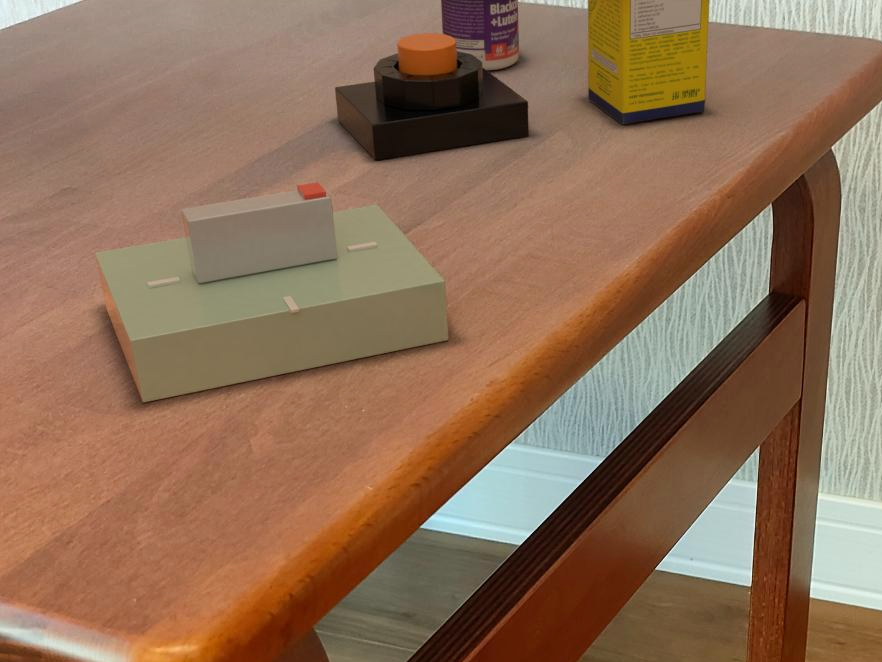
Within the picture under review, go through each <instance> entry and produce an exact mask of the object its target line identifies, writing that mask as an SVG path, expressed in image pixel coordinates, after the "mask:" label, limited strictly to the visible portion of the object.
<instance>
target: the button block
mask: <svg viewBox="0 0 882 662" xmlns="http://www.w3.org/2000/svg"><path fill="white" fill-rule="evenodd" d="M373 79H374V80H373V81H369V82H362V83H355V84H348V85H340V86H335V87H334V92H335V102H336V112H337V121H338V122H339V123H340V124H341V125H342V126H343V128H345V129H346V130H347V132H348V133H349V134H350V135H351V136H352V137H353V138H354V139H355V141H357V142H358V143H359V144H360V145H361V146H362V148H363V149H364V150H365V151H366V152H367V153H368V154H369V155H370V156H371V157H372V158H373V159H374V160H375V161H380V160H386V159H391V158H393V159H394V158H399V157H404V156H411V155H417V154H418V155H419V154H424V153H430V152H436V151H443V150H450V149H454V148H455V149H456V148H461V147H467V146H473V145H480V144H485V143H492V142H498V141H504V140H511V139H517V138H523V137H528V136H529V131H530V130H529V127H530V126H529V101H528V100H527V99H526V98H524V97H523V96H522V95H520V94H519V93H517V92H516V91H515V90H513V89H512V88H511V87H510V86H508V85H507V84H505V82H503V81H501V80H500V79H499V78H498V77H496V76H495V75H493V74H492V73H491V72H489V70H485V69H484V68H483V67H482V62H481V61H480V60H479V59H477V58H476V57H475V56H473V55H472V54H468V53H463V52H458V51H457V69H456V70H454V71H451V72H449V73H443V74H436V75H411V74H407V73H402V72H400V71H399V63H398V52H397V53H394V54H392V55H389V56H386V57H384V58H380V59H379V60H378V61H377V63H376V64H375V65H374V66H373Z"/></svg>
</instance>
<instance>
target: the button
mask: <svg viewBox="0 0 882 662" xmlns="http://www.w3.org/2000/svg"><path fill="white" fill-rule="evenodd" d="M396 48H397V49H396V50H397V53H398V63H399V71H400V72H402V73H407V74H411V75H436V74H443V73H449V72H451V71H454V70H456V69H457V49H456V40H455V38H453V37H451V36H448V35H444V34H443V33H435V32H433V33H432V32H431V33H430V32H426V33H425V32H424V33H415V34H410V35H407V36H404V37H401V38H400V39H398V40H397V43H396Z"/></svg>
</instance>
